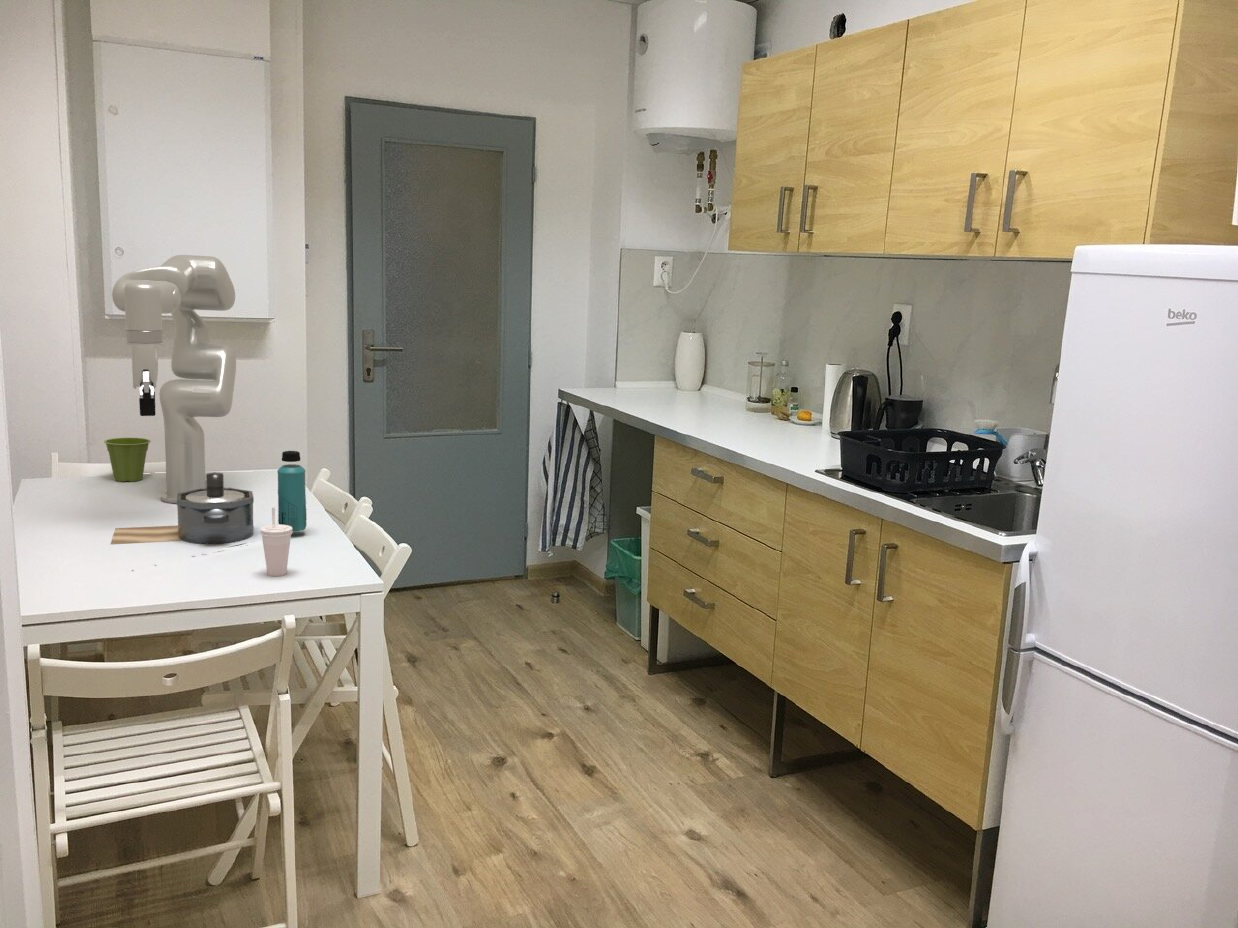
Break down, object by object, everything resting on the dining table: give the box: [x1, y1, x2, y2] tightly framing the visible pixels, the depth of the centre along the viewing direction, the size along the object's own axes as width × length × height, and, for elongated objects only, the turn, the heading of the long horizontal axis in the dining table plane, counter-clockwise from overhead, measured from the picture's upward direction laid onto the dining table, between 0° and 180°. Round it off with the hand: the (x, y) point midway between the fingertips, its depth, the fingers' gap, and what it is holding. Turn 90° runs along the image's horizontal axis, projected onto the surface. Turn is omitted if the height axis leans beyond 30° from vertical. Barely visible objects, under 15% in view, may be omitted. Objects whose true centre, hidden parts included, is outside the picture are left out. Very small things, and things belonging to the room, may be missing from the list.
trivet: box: [110, 525, 182, 545], centre depth 230 cm, size 14×14×1 cm
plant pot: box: [103, 437, 151, 483], centre depth 287 cm, size 12×12×11 cm
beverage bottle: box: [277, 450, 308, 533], centre depth 238 cm, size 6×7×20 cm
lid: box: [186, 472, 244, 503], centre depth 231 cm, size 12×12×6 cm
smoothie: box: [259, 506, 294, 577], centre depth 209 cm, size 6×6×14 cm
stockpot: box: [176, 487, 255, 548], centre depth 232 cm, size 21×16×10 cm
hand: (147, 412), depth 235 cm, fingers open, 9 cm apart
